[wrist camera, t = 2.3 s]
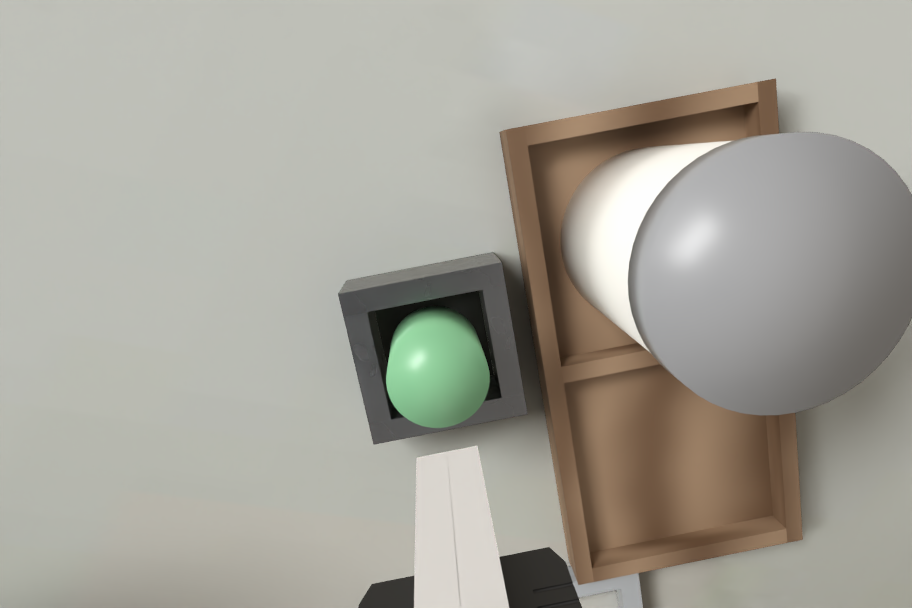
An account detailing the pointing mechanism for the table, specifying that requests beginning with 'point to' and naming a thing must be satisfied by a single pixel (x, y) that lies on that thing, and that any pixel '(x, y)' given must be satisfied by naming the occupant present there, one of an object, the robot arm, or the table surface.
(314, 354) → the table surface
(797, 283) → the seated part
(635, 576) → the tray
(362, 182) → the table surface
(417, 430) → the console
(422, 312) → the button
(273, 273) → the table surface
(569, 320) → the brown divided tray
